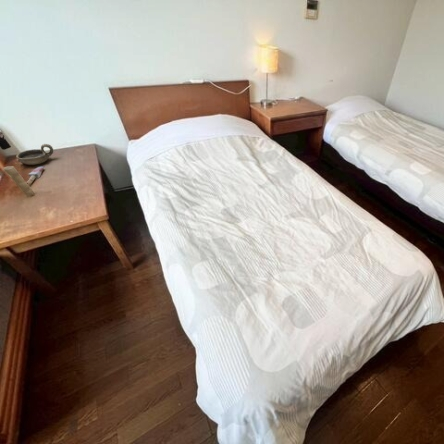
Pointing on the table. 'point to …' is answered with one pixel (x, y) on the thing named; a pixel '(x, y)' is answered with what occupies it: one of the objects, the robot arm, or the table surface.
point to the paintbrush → (34, 175)
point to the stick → (19, 181)
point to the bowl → (35, 155)
